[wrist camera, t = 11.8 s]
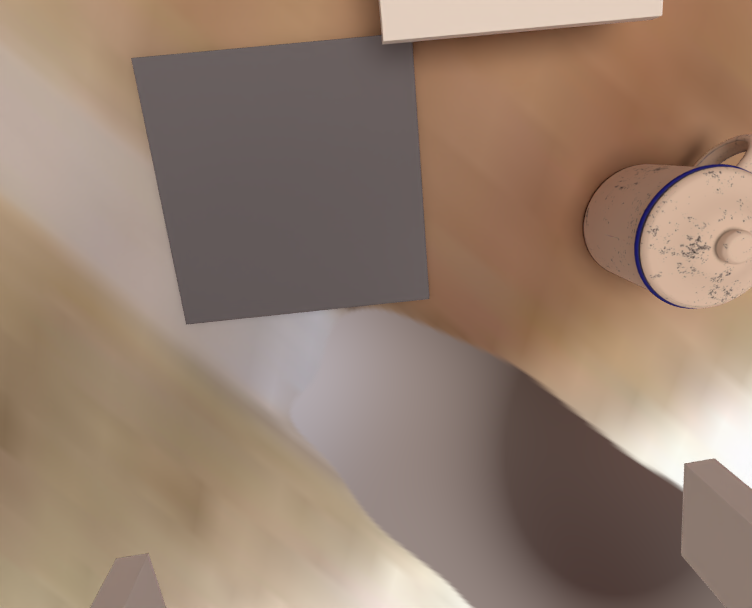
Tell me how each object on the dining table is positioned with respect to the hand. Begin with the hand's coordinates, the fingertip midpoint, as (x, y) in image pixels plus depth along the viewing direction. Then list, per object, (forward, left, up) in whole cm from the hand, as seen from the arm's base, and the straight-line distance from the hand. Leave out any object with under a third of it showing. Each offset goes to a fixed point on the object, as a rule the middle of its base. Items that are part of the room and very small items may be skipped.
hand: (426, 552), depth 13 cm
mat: (-5, +7, -30) cm, 31 cm away
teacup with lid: (+22, +3, -30) cm, 37 cm away
